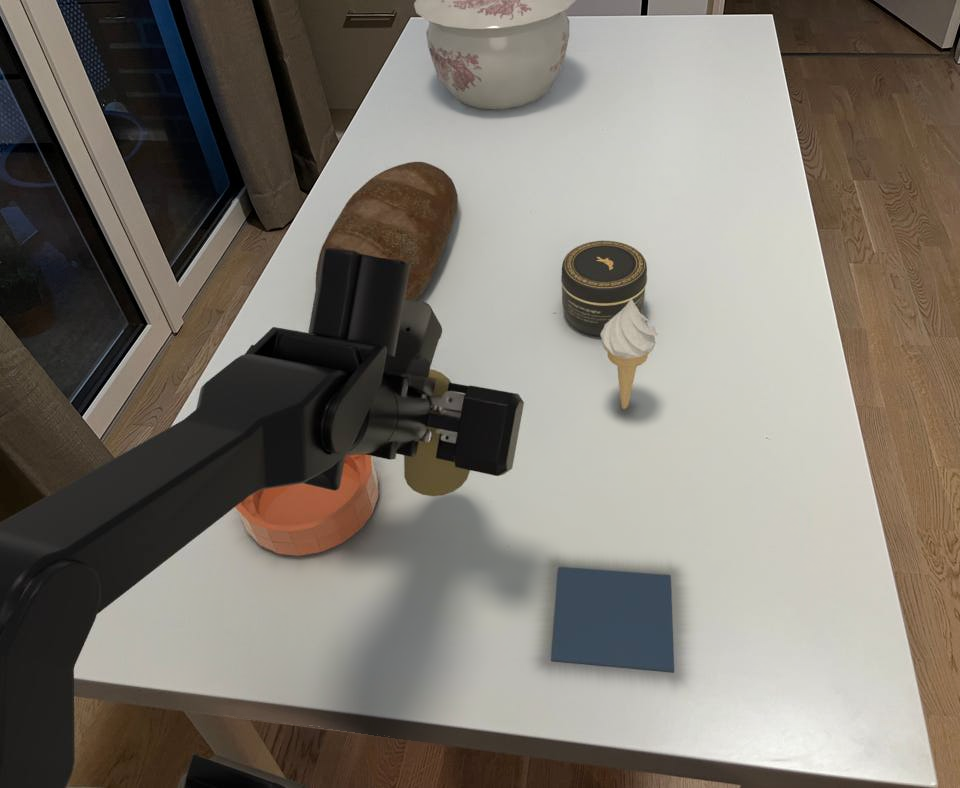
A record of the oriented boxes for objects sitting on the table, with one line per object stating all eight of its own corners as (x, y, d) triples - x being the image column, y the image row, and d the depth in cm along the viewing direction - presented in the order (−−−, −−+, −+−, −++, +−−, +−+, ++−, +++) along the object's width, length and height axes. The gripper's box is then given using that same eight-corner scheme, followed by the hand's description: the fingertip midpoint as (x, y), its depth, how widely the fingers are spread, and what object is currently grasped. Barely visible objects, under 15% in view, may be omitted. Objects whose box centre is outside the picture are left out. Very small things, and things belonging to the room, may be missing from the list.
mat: (551, 661, 66) (551, 659, 66) (558, 568, 72) (558, 566, 72) (673, 672, 65) (674, 670, 64) (670, 576, 71) (670, 575, 71)
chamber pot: (551, 136, 131) (549, 3, 116) (401, 120, 139) (382, -5, 125) (595, 66, 149) (598, -56, 134) (460, 56, 157) (449, -60, 143)
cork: (452, 504, 70) (439, 416, 62) (392, 485, 72) (372, 398, 64) (480, 455, 73) (470, 367, 66) (422, 439, 75) (406, 351, 68)
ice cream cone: (653, 425, 84) (665, 315, 73) (600, 428, 84) (604, 318, 74) (646, 388, 88) (656, 279, 77) (595, 391, 88) (598, 282, 78)
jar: (587, 280, 103) (588, 230, 97) (658, 304, 98) (663, 253, 93) (546, 323, 97) (544, 272, 92) (619, 351, 93) (622, 299, 87)
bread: (476, 189, 121) (471, 137, 115) (412, 347, 96) (402, 292, 90) (378, 185, 124) (369, 135, 118) (292, 337, 99) (275, 283, 93)
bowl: (327, 578, 74) (316, 551, 70) (216, 528, 79) (202, 500, 76) (404, 474, 82) (397, 445, 79) (299, 435, 87) (289, 406, 84)
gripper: (510, 316, 51) (555, 339, 66) (260, 277, 57) (354, 307, 72) (480, 484, 52) (532, 469, 67) (234, 431, 57) (333, 428, 72)
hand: (435, 413), depth 69 cm, fingers closed on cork, 5 cm apart
